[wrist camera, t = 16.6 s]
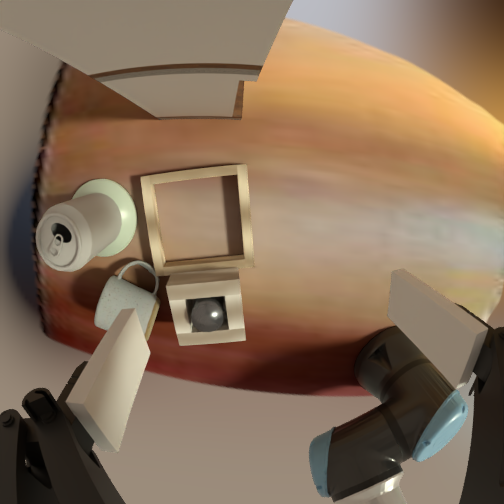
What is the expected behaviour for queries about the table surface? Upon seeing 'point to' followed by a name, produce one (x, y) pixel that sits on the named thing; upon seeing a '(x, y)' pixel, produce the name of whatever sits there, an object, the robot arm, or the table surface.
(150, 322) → the ceramic mug
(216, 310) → the glossy grey oval piece
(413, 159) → the table surface
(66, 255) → the can
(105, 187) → the pad
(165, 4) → the tall seamed white tower
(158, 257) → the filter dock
